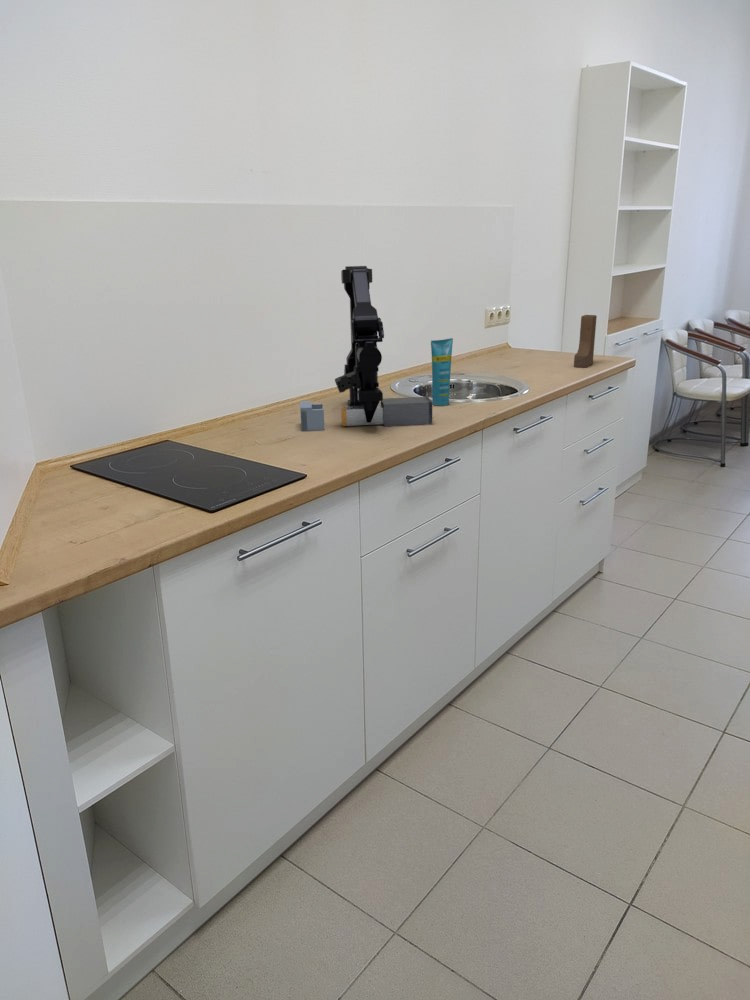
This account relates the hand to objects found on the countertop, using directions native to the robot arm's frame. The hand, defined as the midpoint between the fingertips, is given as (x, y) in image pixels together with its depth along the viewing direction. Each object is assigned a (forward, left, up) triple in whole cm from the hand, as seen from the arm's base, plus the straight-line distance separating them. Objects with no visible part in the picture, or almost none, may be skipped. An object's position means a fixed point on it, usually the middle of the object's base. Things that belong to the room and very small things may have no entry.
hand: (367, 420), depth 199 cm
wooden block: (-70, +88, -1) cm, 112 cm away
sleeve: (0, +10, -1) cm, 11 cm away
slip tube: (0, +4, -1) cm, 4 cm away
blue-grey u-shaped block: (0, -15, -1) cm, 15 cm away
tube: (-19, +24, -1) cm, 31 cm away
